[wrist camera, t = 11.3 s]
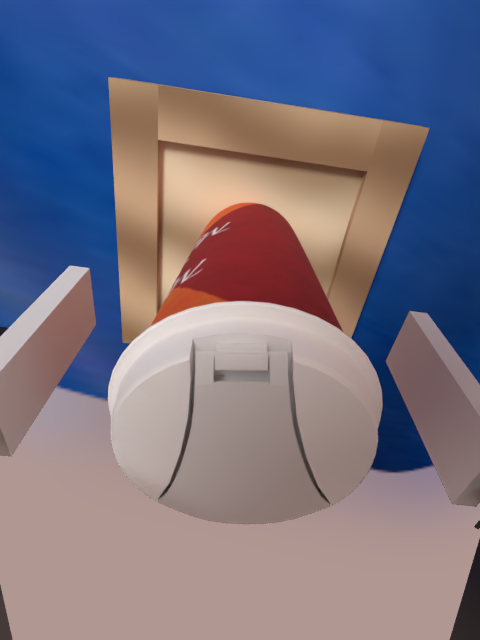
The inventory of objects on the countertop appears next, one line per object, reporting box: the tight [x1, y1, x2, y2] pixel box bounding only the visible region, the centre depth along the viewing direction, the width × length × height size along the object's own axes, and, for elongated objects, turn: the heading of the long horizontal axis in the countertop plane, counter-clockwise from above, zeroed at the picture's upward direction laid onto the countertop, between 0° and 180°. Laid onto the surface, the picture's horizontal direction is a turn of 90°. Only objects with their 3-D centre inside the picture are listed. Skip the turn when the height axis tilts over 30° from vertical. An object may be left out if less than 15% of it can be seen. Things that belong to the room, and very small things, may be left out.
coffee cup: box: [108, 202, 383, 524], centre depth 16 cm, size 8×8×15 cm
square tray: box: [108, 77, 430, 343], centre depth 23 cm, size 16×16×2 cm
